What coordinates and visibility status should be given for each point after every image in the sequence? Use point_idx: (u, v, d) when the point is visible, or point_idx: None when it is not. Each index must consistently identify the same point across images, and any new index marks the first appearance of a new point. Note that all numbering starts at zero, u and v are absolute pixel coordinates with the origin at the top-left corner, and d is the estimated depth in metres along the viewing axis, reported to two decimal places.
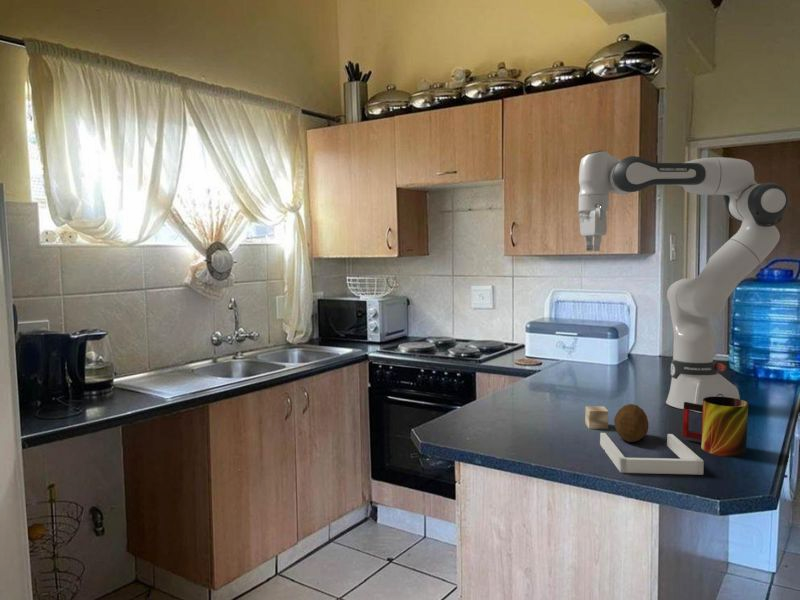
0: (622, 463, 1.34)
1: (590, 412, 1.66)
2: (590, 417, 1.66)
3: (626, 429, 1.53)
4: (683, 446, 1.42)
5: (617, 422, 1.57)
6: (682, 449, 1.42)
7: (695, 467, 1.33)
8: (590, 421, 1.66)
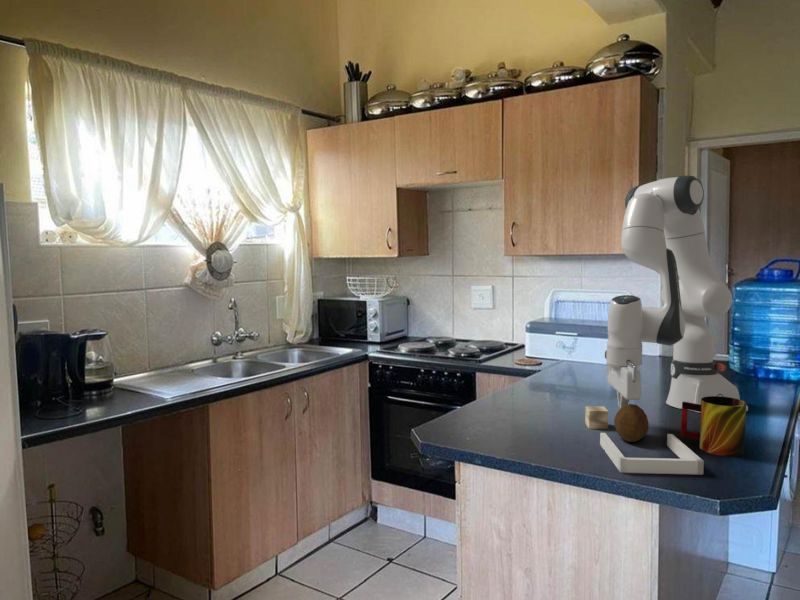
0: (622, 463, 1.34)
1: (590, 412, 1.66)
2: (590, 417, 1.66)
3: (626, 429, 1.53)
4: (683, 446, 1.42)
5: (617, 422, 1.57)
6: (682, 449, 1.42)
7: (695, 467, 1.33)
8: (590, 421, 1.66)
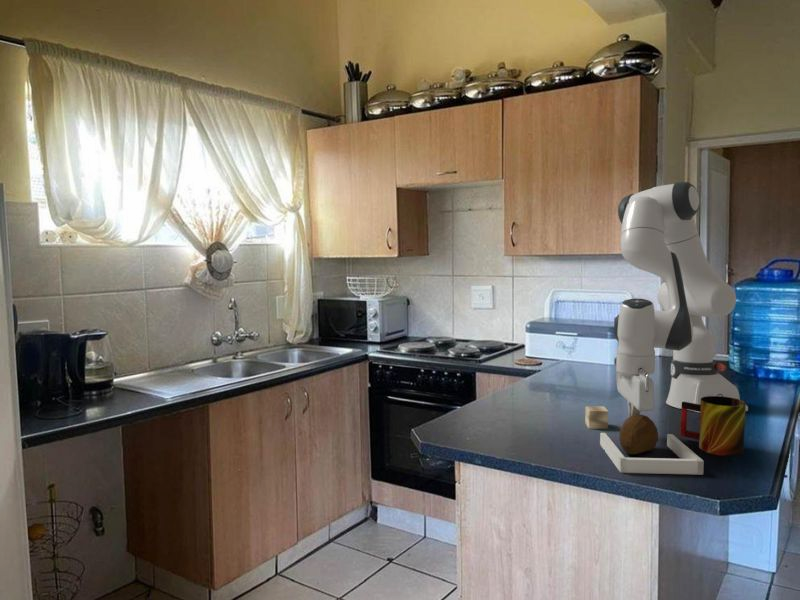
0: (622, 463, 1.34)
1: (590, 412, 1.66)
2: (590, 417, 1.66)
3: (624, 440, 1.44)
4: (683, 446, 1.42)
5: None
6: (682, 449, 1.42)
7: (695, 467, 1.33)
8: (590, 421, 1.66)
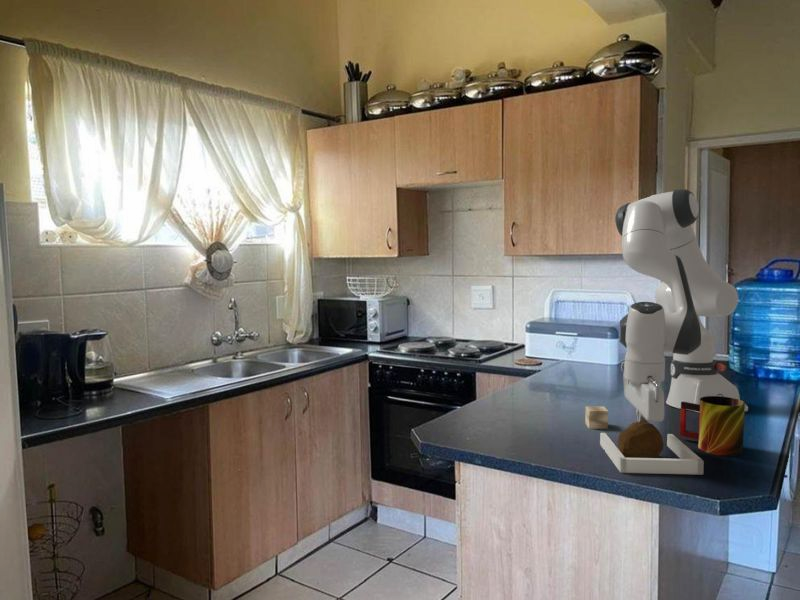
0: (622, 463, 1.34)
1: (590, 412, 1.66)
2: (590, 417, 1.66)
3: (618, 446, 1.40)
4: (683, 446, 1.42)
5: None
6: (682, 449, 1.42)
7: (695, 467, 1.33)
8: (590, 421, 1.66)
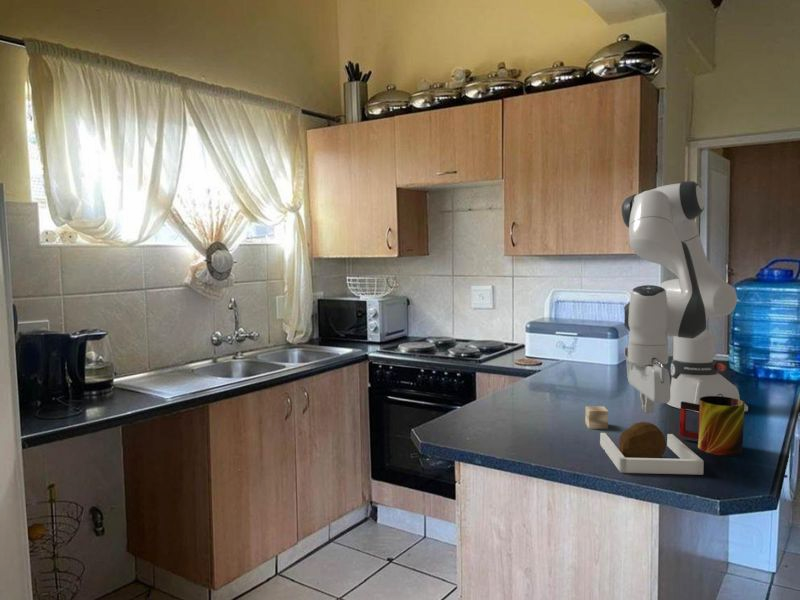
0: (622, 463, 1.34)
1: (590, 412, 1.66)
2: (590, 417, 1.66)
3: (619, 446, 1.40)
4: (683, 446, 1.42)
5: None
6: (682, 449, 1.42)
7: (695, 467, 1.33)
8: (590, 421, 1.66)
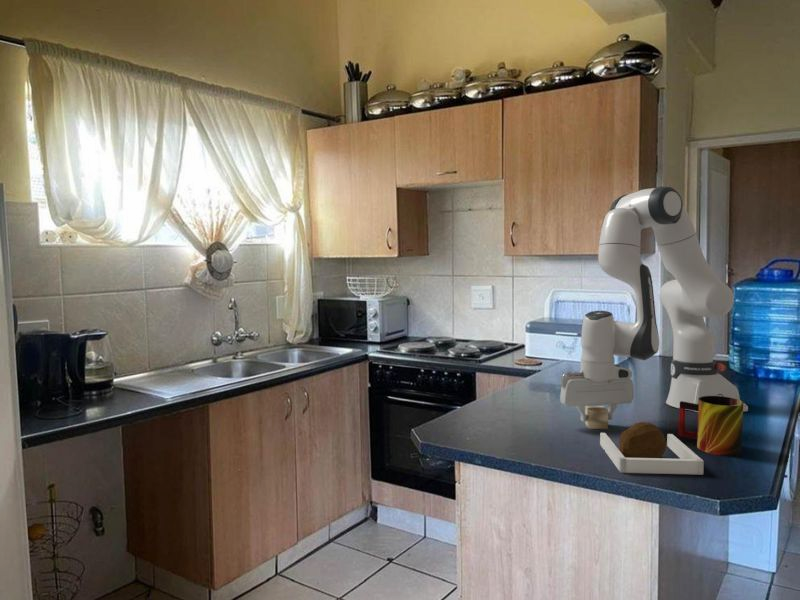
0: (622, 463, 1.34)
1: (590, 412, 1.66)
2: (590, 417, 1.66)
3: (619, 446, 1.40)
4: (683, 446, 1.42)
5: None
6: (682, 449, 1.42)
7: (695, 467, 1.33)
8: (590, 421, 1.66)
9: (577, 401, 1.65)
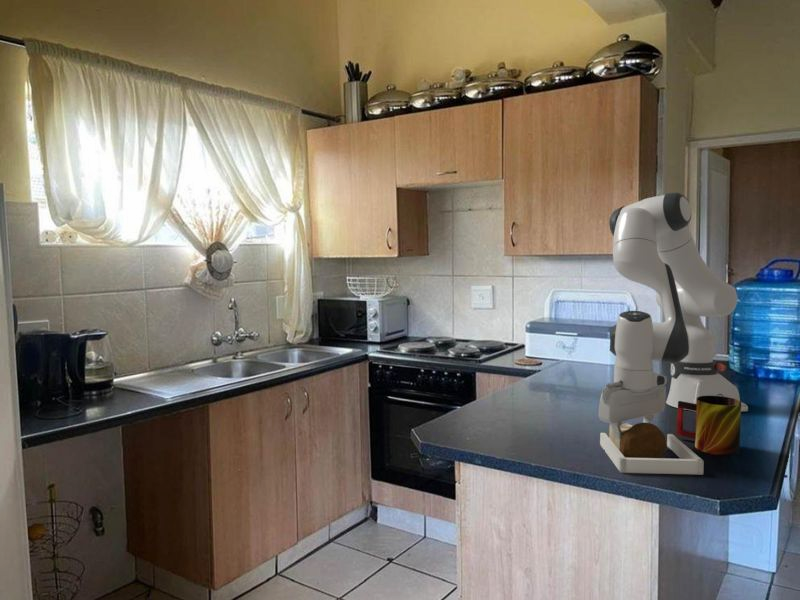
0: (622, 463, 1.34)
1: None
2: None
3: (620, 446, 1.40)
4: (683, 446, 1.42)
5: None
6: (682, 449, 1.42)
7: (695, 467, 1.33)
8: None
9: (620, 416, 1.44)
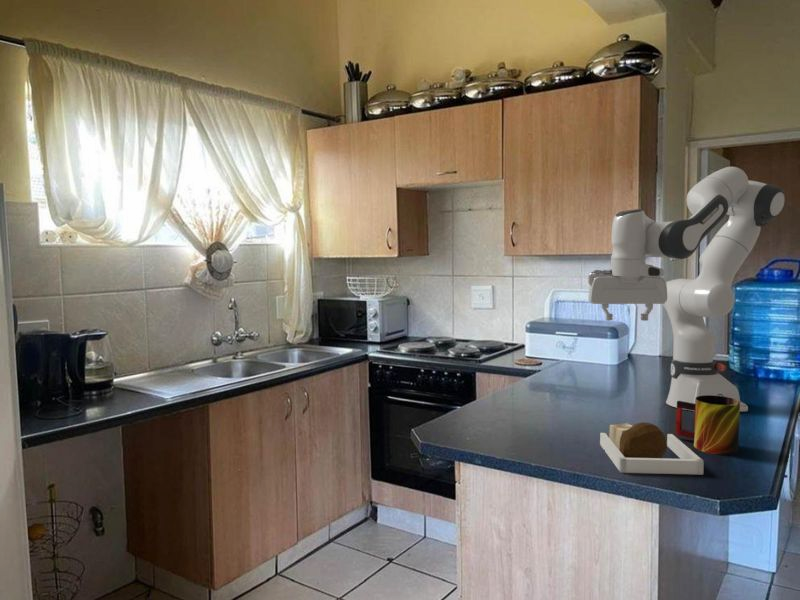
0: (622, 463, 1.34)
1: (611, 425, 1.53)
2: (615, 426, 1.51)
3: (620, 446, 1.40)
4: (683, 446, 1.42)
5: None
6: (682, 449, 1.42)
7: (695, 467, 1.33)
8: (617, 428, 1.50)
9: (604, 299, 1.66)
